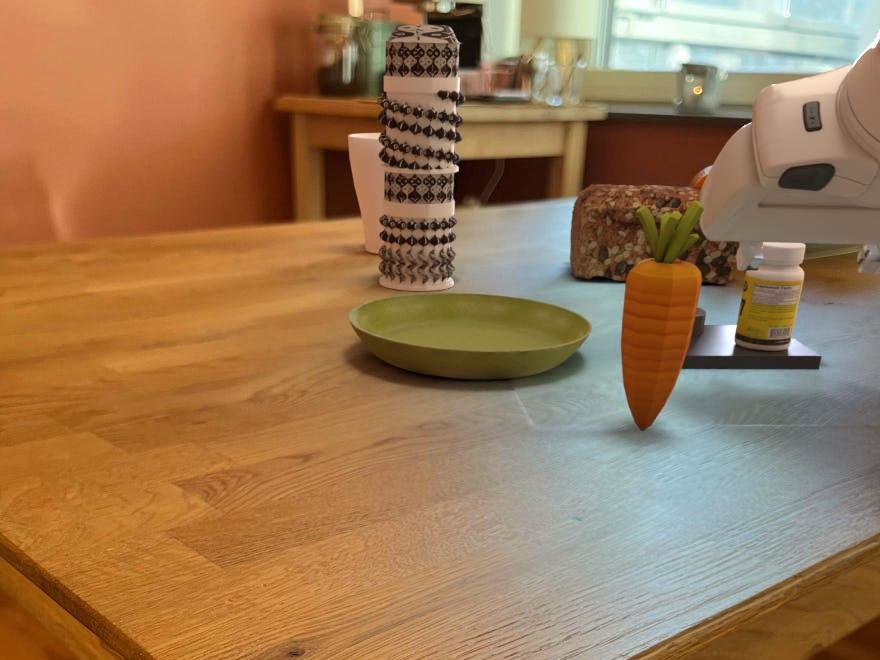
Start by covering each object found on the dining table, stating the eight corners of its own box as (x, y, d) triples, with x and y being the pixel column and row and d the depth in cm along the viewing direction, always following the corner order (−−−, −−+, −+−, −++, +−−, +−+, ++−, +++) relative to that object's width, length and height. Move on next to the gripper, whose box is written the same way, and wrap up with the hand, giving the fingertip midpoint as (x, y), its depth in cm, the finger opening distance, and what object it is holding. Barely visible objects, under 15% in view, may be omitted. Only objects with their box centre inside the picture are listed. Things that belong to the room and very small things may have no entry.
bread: (572, 282, 117) (582, 188, 112) (565, 265, 126) (574, 177, 121) (736, 287, 116) (753, 192, 111) (717, 270, 125) (732, 182, 120)
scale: (766, 335, 97) (772, 303, 95) (818, 370, 86) (827, 334, 85) (627, 335, 96) (631, 302, 94) (663, 369, 85) (669, 333, 84)
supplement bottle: (741, 335, 91) (759, 236, 87) (795, 343, 89) (816, 241, 85) (726, 347, 88) (745, 243, 83) (782, 355, 86) (804, 249, 81)
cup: (403, 261, 127) (405, 140, 120) (333, 252, 131) (331, 136, 124) (443, 249, 134) (447, 136, 128) (375, 241, 139) (375, 131, 132)
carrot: (593, 429, 72) (619, 198, 64) (633, 414, 75) (663, 193, 67) (653, 446, 69) (688, 207, 61) (692, 430, 72) (731, 201, 64)
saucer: (326, 381, 81) (326, 340, 79) (369, 321, 98) (370, 287, 97) (590, 397, 78) (595, 355, 77) (586, 333, 96) (589, 298, 94)
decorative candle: (443, 274, 120) (452, 26, 107) (467, 290, 112) (481, 25, 99) (367, 276, 118) (368, 24, 105) (387, 293, 110) (390, 23, 97)
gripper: (1047, 95, 66) (934, 232, 79) (735, 87, 66) (674, 226, 79) (1062, 177, 64) (944, 303, 78) (743, 170, 64) (679, 297, 77)
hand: (806, 264), depth 78 cm, fingers open, 8 cm apart
